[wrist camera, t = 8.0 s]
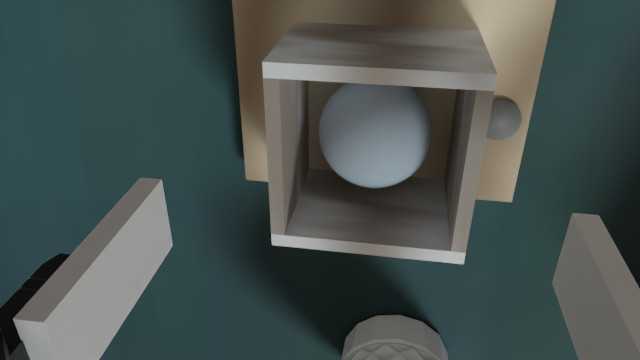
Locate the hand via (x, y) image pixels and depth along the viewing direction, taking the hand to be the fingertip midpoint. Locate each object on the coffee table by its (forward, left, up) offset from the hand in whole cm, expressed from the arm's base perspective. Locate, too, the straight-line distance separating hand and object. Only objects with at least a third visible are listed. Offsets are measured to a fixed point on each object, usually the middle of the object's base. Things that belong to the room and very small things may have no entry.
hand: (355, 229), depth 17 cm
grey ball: (0, 0, -10) cm, 10 cm away
